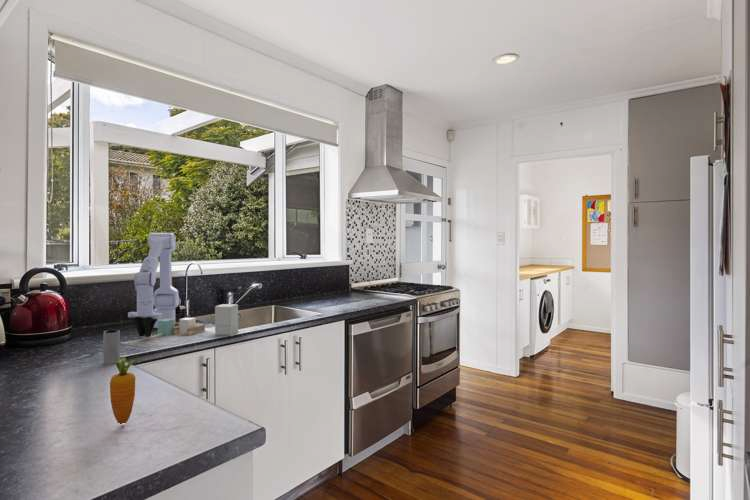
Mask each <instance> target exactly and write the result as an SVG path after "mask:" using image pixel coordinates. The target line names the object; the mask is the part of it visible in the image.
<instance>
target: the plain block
mask: <svg viewBox="0 0 750 500" xmlns="http://www.w3.org/2000/svg"><path fill="white" fill-rule="evenodd" d="M196 320H197V318H196V317H183V318H179V321H178V323H179V334H187V329H188V328H192V327H195V326H196V324H197V323H196Z"/></svg>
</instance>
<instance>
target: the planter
mask: <svg viewBox="0 0 750 500" xmlns="http://www.w3.org/2000/svg"><path fill="white" fill-rule="evenodd" d="M102 337H103V341H102V342H103V343H102V344H103V347H102V348H103V351H102V352H103V364H104V365H106V364H110V365H115V364H114V363H116V362H117V361H119V362H120V363H121V330H119V329H110V330H105V331H104V330H103V336H102Z"/></svg>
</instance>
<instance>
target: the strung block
mask: <svg viewBox="0 0 750 500" xmlns="http://www.w3.org/2000/svg"><path fill="white" fill-rule="evenodd" d="M175 322H176V321H175ZM175 322H174V319H167V318H165V319H162V320H158V328H157V333H156V334H154V335H153V332H152V333H151V336H149V337H145V336H144V339H145V340H147V341H148V340H153V339H155V338H159V337H163V336H166V337H167V336H170V335H174V334H173V328H174V327H175Z"/></svg>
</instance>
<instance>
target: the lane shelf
mask: <svg viewBox="0 0 750 500" xmlns="http://www.w3.org/2000/svg"><path fill="white" fill-rule="evenodd" d="M205 326H206V325H205V324H204V323H203V324H202V323H196V326H195V327H192V328H188V329H187V334H179V321H178V322H176V321H175V327H174V328H173V334H172V335H178V336H192V335H195V334H199V333H201V332H204V331H206V329H205Z"/></svg>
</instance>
